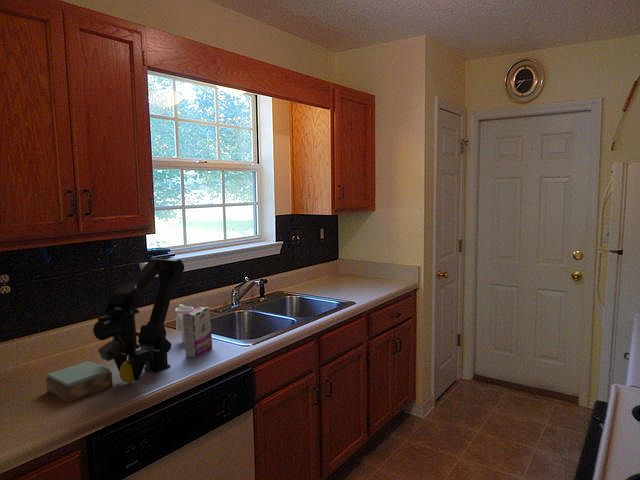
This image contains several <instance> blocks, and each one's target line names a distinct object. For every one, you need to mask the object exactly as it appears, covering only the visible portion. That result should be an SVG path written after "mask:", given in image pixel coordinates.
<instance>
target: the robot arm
mask: <svg viewBox="0 0 640 480" xmlns="http://www.w3.org/2000/svg"><path fill="white" fill-rule="evenodd" d="M184 271H185V264H184V263H183V261H182V260H181V259H175V258H172V259H171V258H159V257H158V258H155V257H152V258H149V259H148V260H147V263H145V265H144V266H143V267H142V269H141V270H140V271H139V272H137V274H136V275H135V276H134V277H133V279H131V280H130V282H128V283H126V284H125V285H123V286H120V287H118V288H117V289H116V290H115V291H114V292H112V294H110V296H109V297H110V299H109V301H108V303H107V306H106V308H105V311H104V313H103V315H104V316H99V317H98V318H97V322H95V324H94V325H93V328H92V332H93V335H94V336H95V338H96V339H97V340H99V341H105V340H108V339H111V338H112V340H111V341H108V342H106V343H105V344H104V345H102V346H101V347H100V348H99V349H98V350H97V351H98V353H99V355H100V357H101V359H102V360H106V362H109V361H110V362H111V361H112V360H113V362H114V364H115V365H116V368H117V370H118V373H119V372H120V367H121V365H122V364H123V363H124V362H125V361H127V360H129V362H128V364H129V365H131V366H132V370H133V376H134V381H135V382H137V381H139V379H140V378H141V376H142V372H143V370H146V371H150V372H152V373H158V372H161V371H163V370H166V369H168V368H170V367H171V364H168V361H169V360H168V353H169V351H171V350H172V343H171V342H170V341H169V340H168V339H167V338H166V337H167V331H166V327H165V322H166V318H167V313H168V310H169V306H170V304H171V303H170V302H171V299H172V296H173V291H174V287H175V285H176V284H177V283H178V282H179V281H180V279H182V276H183V273H184ZM157 275H158V279H159V284H158V288H157V292H156V295H155V299H154V302H153V306H152V310H151V315H150V317H149V321H148V322H147V323H146V324H143V325H141V327H140V330H139V332H138V331H137V330H136V329H137V328H136V315H137V314H140V310H139V309H136V307H137V306H138V304H139V302H140V301H141V298H142V297H141V296H142V293H143V291H144V290H145V289H146V288H147V287H149V284H150V283H152V281H153V280H154V279H155V277H156V276H157ZM137 337H138V338H137ZM137 339H138V341H137ZM137 349H138V350H137Z"/></svg>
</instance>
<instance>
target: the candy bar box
mask: <svg viewBox="0 0 640 480" xmlns="http://www.w3.org/2000/svg"><path fill="white" fill-rule="evenodd" d="M211 323H212V321H211V308H210V306H209V307H208V306H198V307H196V308H194V310H191V311H189V312H187V313H185V314H183V324H184V338H185V343H184V351H185V357H186V358H190V359H191V358H193V359H196V358H199V357H200V356H202V355H204V354H206V353H207V352H208V351H210V350H212V349H213V340H212V339H213V338H212V324H211Z"/></svg>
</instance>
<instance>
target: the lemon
mask: <svg viewBox="0 0 640 480" xmlns="http://www.w3.org/2000/svg"><path fill="white" fill-rule="evenodd" d="M128 362H129V360H128V359H127V361H125V362H124V363H123V364H122V365H121V367H120V372H119V371H118V373H119V377H120V379H121V381H122V382H123V383H126V384H128V385H131V384H132V382H133V383H134V381H135V380H134V376H133V370H132V366H131V365H129V364H128Z"/></svg>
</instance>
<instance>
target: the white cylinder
mask: <svg viewBox="0 0 640 480" xmlns="http://www.w3.org/2000/svg"><path fill="white" fill-rule="evenodd" d="M194 309H195V308H194V307H193V306H190V305H189V306H188V305H187V306H185V305H184V304H181V303H180V304H178V307H176V308H175V318H176V319H175V321H176V323H175V324H176V326H175V328H176V329H175V330H176V331H177V332H181V344H185V338H184V324H183V314H185V313H187V312H189V311H191V310H194Z"/></svg>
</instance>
